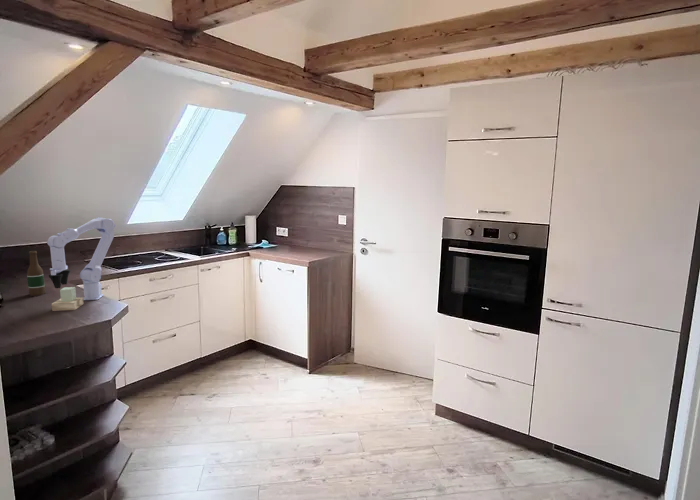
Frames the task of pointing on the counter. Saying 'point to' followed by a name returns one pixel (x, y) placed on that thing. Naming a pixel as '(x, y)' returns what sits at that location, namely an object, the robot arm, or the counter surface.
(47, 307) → the counter surface
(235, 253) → the counter surface
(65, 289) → the sage block
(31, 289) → the beer bottle
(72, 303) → the birch base
